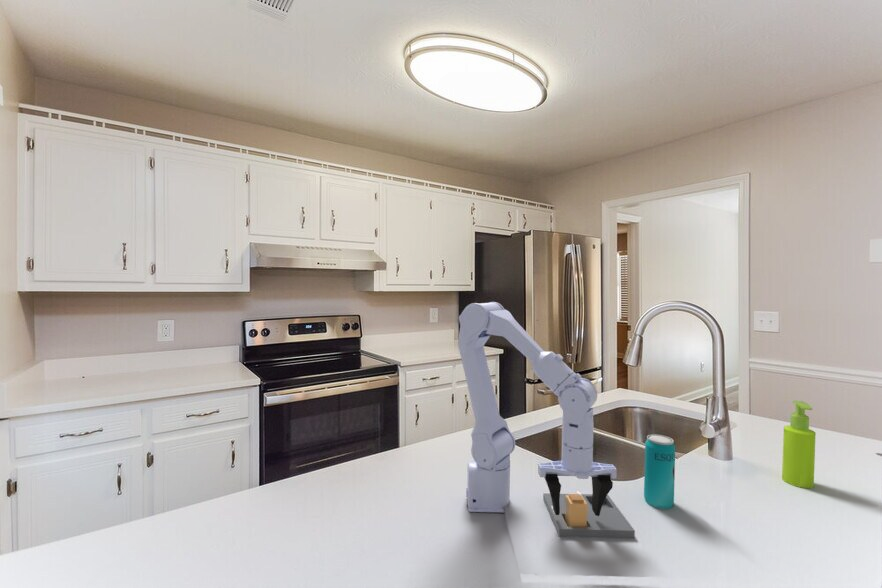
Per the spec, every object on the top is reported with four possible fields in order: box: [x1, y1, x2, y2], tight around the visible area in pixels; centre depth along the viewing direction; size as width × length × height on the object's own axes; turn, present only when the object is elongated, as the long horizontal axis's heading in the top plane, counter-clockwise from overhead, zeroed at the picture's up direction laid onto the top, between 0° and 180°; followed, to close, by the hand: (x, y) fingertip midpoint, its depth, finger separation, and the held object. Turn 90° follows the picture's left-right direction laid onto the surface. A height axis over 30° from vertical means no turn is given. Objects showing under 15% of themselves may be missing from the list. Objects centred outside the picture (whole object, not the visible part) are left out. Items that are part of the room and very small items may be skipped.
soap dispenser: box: [781, 400, 817, 489], centre depth 100 cm, size 6×7×20 cm
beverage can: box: [643, 433, 676, 510], centre depth 89 cm, size 6×6×15 cm
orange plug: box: [565, 493, 587, 527], centre depth 80 cm, size 3×3×6 cm
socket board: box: [542, 490, 636, 539], centre depth 84 cm, size 14×14×2 cm
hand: (576, 512), depth 80 cm, fingers open, 7 cm apart
